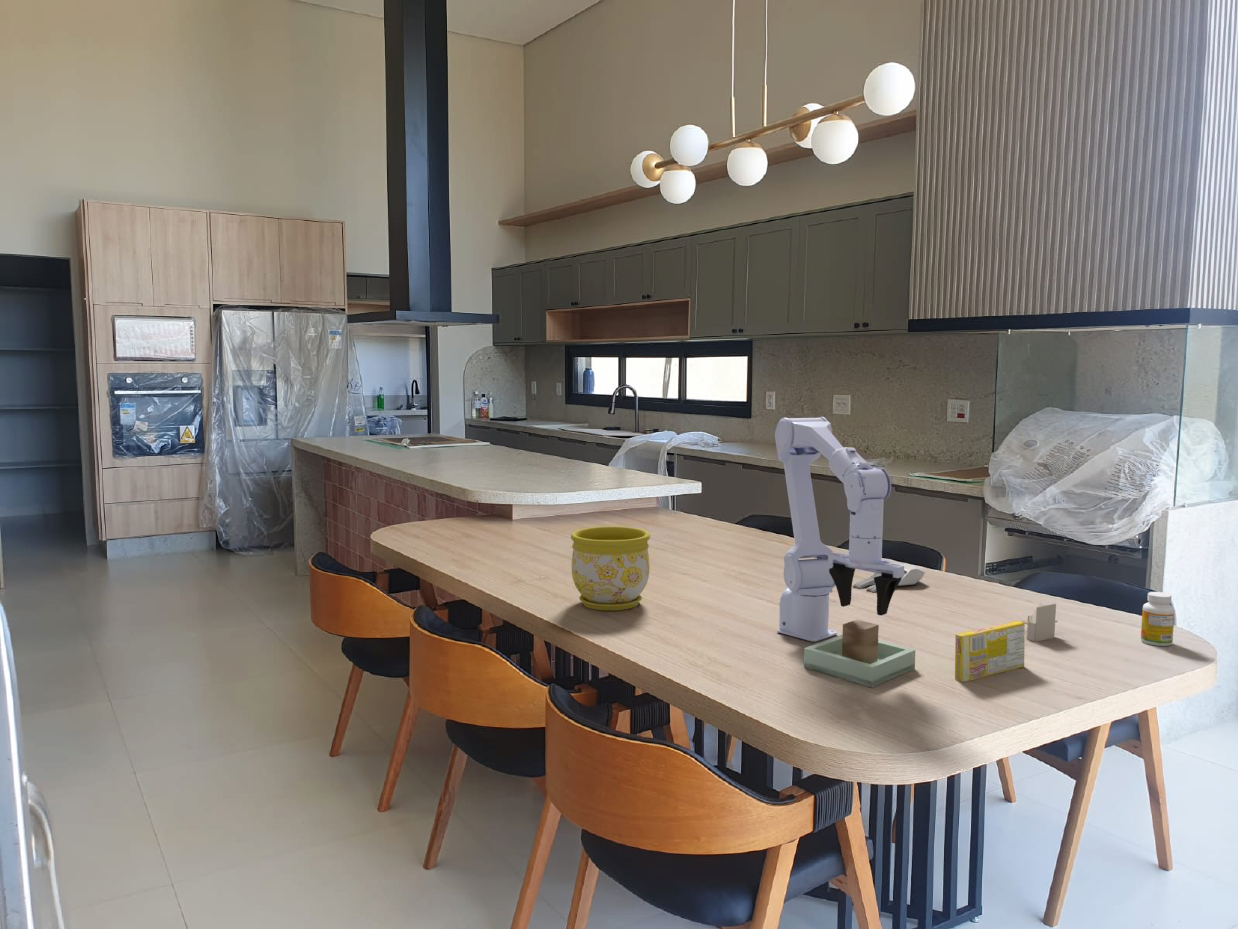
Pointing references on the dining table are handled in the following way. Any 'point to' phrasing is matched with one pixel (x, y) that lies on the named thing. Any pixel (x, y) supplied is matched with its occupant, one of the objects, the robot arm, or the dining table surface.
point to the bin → (859, 662)
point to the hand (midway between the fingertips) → (863, 609)
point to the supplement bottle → (1158, 620)
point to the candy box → (989, 651)
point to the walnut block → (860, 641)
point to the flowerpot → (610, 566)
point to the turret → (910, 577)
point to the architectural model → (1042, 623)
